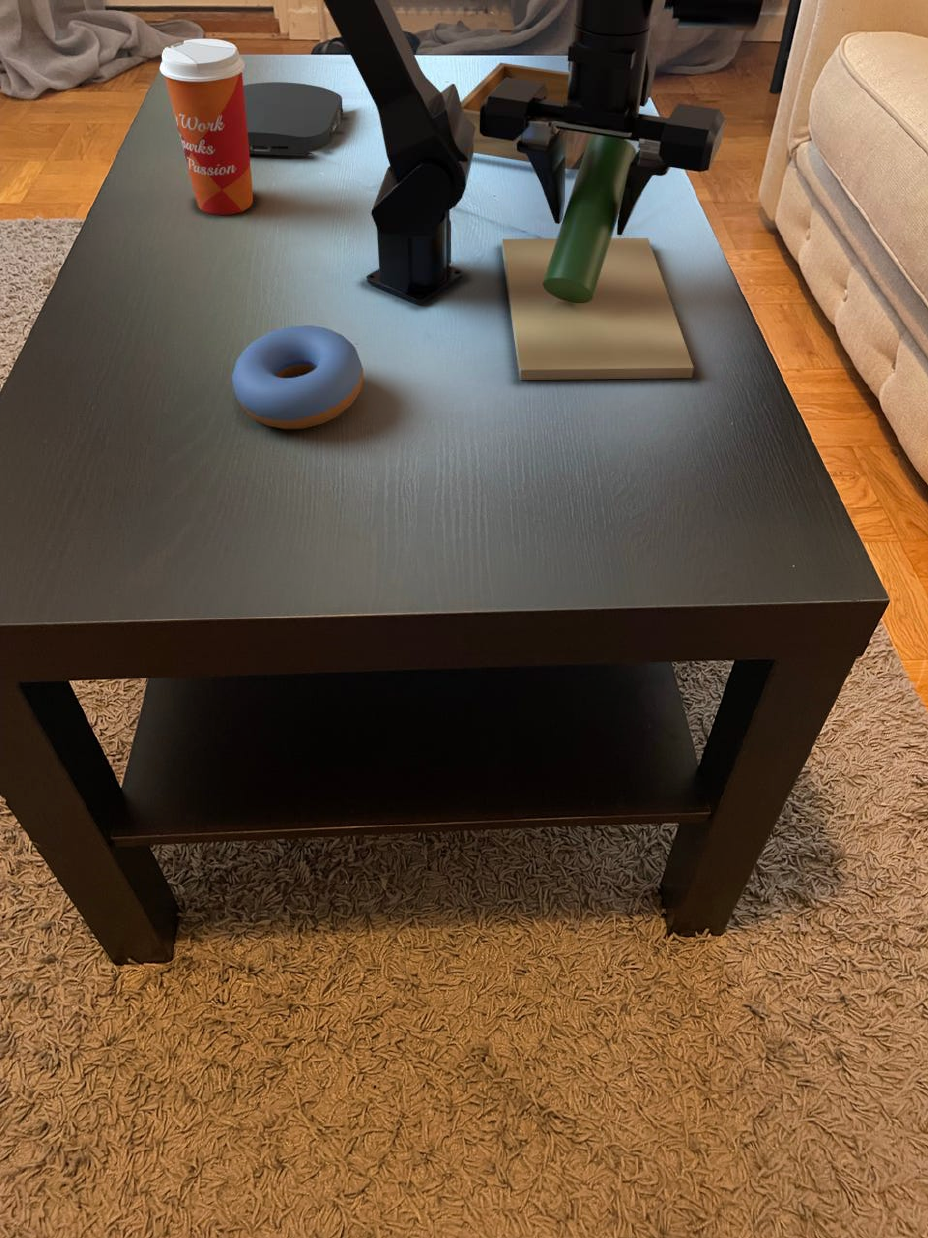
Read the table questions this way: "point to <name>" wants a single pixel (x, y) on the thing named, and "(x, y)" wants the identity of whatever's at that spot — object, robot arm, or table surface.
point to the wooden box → (506, 148)
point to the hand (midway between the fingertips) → (589, 227)
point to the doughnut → (304, 398)
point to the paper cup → (211, 121)
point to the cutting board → (594, 317)
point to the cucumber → (589, 220)
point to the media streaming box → (290, 117)
